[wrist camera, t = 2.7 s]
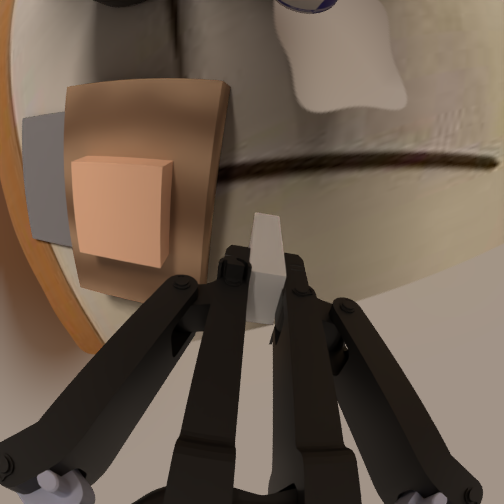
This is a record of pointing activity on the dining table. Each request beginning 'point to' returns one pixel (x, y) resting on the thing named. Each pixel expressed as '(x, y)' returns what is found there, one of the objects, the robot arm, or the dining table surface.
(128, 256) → the coaster
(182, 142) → the board
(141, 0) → the pen holder
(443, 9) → the dining table surface
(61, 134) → the mat
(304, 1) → the energy drink
